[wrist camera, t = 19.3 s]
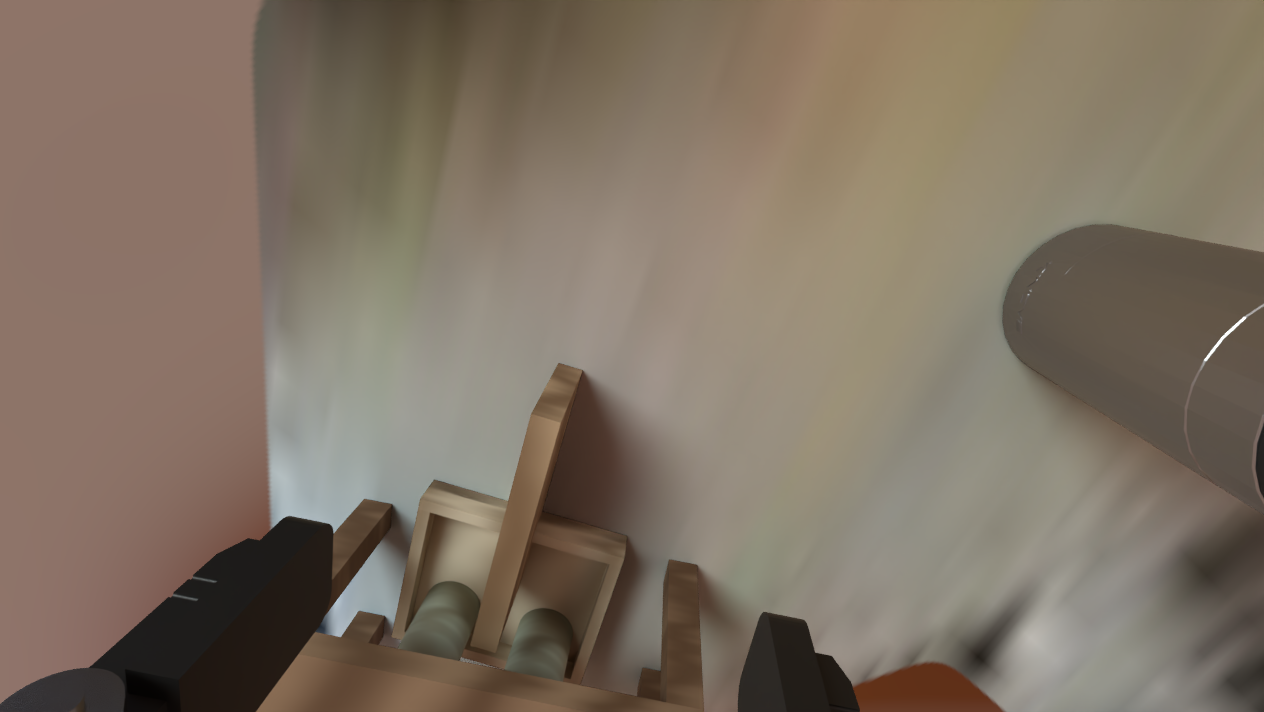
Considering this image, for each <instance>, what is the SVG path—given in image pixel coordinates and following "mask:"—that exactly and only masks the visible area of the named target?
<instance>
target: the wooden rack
mask: <svg viewBox="0 0 1264 712" xmlns="http://www.w3.org/2000/svg"><path fill="white" fill-rule="evenodd" d="M391 512H392V504H388V503H383V502H378V501H373V500H368V499H364V500H363V501H362V502H361V503H360V504H359V506H358V507H357V508H356V509H355V510H354V511H353V512H352V513H351V515H350V516H349V517H348V518H347V519H346V520H345V521H344V523H343V524H342V525H341V526H340V527H339V528H338V529H337V531H336V532H335V533H334V534H333V565H332V592H331V598H330V603H329V606H328V609H327V611H326V614H327V612H328V611H329V610H330V608H331V607H332V606H333V604H334V603H335V602H336V600H337V599H338V598H339V596H340V595H341V594H342V592H343V591H344V590H345V588H346V587H347V586H348V584H349V583H350V582H351V580H352V579H353V578H354V576H355V575H356V574H357V572H358V571H359V570H360V568H361V567H362V565H363V564H364V563H365V561H366V560H367V559H368V557H369V556H370V555H371V553H372V552H373V551H374V549H375V548H376V547H377V545H378V544H379V543H380V541H381V540H382V539H383V537H384V536H385V535H386V533H387V532H388V531H389V529H390V527H391ZM326 614H325V615H326ZM384 618H385V616H382V615H376V614H371V613H366V612H361V611H359V612H358V613H357V614H356V616H355V617H354V619H353V620H352V622H351V623H350V625H349V626H348V628H347V629H346V631H345V632H344V634H343V635H342V636H341V637H336V636H331V635H326V634H321V633H316V632H315V633H314V634H313V635H312V637H311V638H310V639H309V641H308V642H307V643H306V645H305V646H304V648H303V649H302V650H301V652H300V653H299V654H298V656H297V657H296V658H295V660H294V661H293V662H292V664H291V665H290V666H289V668H288V669H287V670H286V672H285V673H284V675H283V676H282V677H281V679H280V680H279V681H278V683H277V684H276V685H275V687H274V688H273V689H272V691H271V692H270V693H269V695H268V696H267V697H266V699H265V700H264V701H263V703H262V704H261V706H260V707H259V708H258V710H257V711H256V712H704V702H703V681H702V660H701V639H700V619H699V598H698V577H697V565H695V564H690V563H685V562H680V561H674V560H669V562H668V566H667V570H666V574H665V578H664V584H663V617H662V650H661V671H657V670H652V669H647V668H642V672H641V677H640V681H639V685H638V692H637V696H632V695H627V694H622V693H617V692H612V691H607V690H602V689H597V688H592V687H587V686H581V685H576V684H571V683H566V682H561V681H556V680H551V679H546V678H541V677H536V676H531V675H526V674H521V673H516V672H511V671H506V670H501V669H496V668H491V667H486V666H481V665H476V664H471V663H466V662H461V661H456V660H451V659H446V658H441V657H436V656H431V655H426V654H421V653H416V652H411V651H406V650H401V649H396V648H391V647H386V646H381V645H379V643H380V641H381V640H382V638H383V633H384Z"/></svg>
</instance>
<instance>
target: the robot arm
mask: <svg viewBox="0 0 1264 712" xmlns="http://www.w3.org/2000/svg"><path fill="white" fill-rule="evenodd" d="M1003 326H1004V332H1005V336H1006V338H1007V340H1008V343H1009V345H1010V347H1011V349H1012V350H1013V351H1014V353H1015V354H1016V355H1017V356H1018V358H1019V359H1020V360H1021V361H1022V362H1024V363H1025V364H1027V365H1028V366H1029V367H1031V368H1032V369H1034V370H1035V371H1037V372H1038V373H1040V374H1041V375H1043V376H1045V377H1046V378H1048V379H1049V380H1051V381H1053V382H1054V383H1056V384H1057V385H1059V386H1060V387H1062V388H1063V389H1065V390H1066V391H1068V392H1069V393H1071V394H1072V395H1074V396H1076V397H1077V398H1079V399H1080V400H1082V401H1084V402H1085V403H1087V404H1088V405H1090V406H1091V407H1093V408H1095V409H1096V410H1098V411H1099V412H1101V413H1103V414H1104V415H1106V416H1107V417H1109V418H1110V419H1112V420H1114V421H1115V422H1117V423H1118V424H1120V425H1122V426H1123V427H1125V428H1126V429H1128V430H1129V431H1131V432H1133V433H1134V434H1136V435H1137V436H1139V437H1141V438H1142V439H1144V440H1145V441H1147V442H1148V443H1150V444H1152V445H1153V446H1155V447H1156V448H1158V449H1160V450H1161V451H1163V452H1164V453H1166V454H1168V455H1169V456H1171V457H1172V458H1174V459H1175V460H1177V461H1179V462H1180V463H1182V464H1183V465H1185V466H1187V467H1188V468H1190V469H1191V470H1193V471H1194V472H1196V473H1198V474H1199V475H1201V476H1202V477H1204V478H1206V479H1207V480H1209V481H1210V482H1212V483H1213V484H1215V485H1217V486H1219V487H1220V488H1222V489H1224V490H1225V491H1227V492H1228V493H1230V494H1232V495H1233V496H1235V497H1236V498H1238V499H1240V500H1241V501H1243V502H1244V503H1246V504H1247V505H1249V506H1251V507H1252V508H1254V509H1255V510H1257V511H1259V512H1260V513H1262V514H1263V515H1264V252H1259V251H1253V250H1248V249H1243V248H1237V247H1232V246H1226V245H1221V244H1215V243H1210V242H1205V241H1199V240H1194V239H1188V238H1183V237H1178V236H1174V235H1168V234H1163V233H1157V232H1151V231H1146V230H1140V229H1135V228H1129V227H1123V226H1118V225H1112V224H1107V225H1090V226H1085V227H1080V228H1075V229H1073V230H1070V231H1068V232H1065V233H1063V234H1061V235H1058V236H1056V237H1055V238H1053V239H1052V240H1050V241H1048V242H1047V243H1045V244H1044V245H1042V246H1041V247H1040V248H1038V249H1037V250H1036V251H1035V252H1034V253H1033V254H1032V255H1031V256H1030V257H1028V258H1027V260H1026V261H1025V262H1024V263H1023V265H1022V266H1021V267H1020V269H1019V270H1018V271H1017V272H1016V274H1015V276H1014V278H1013V280H1012V282H1011V284H1010V286H1009V288H1008V290H1007V294H1006V297H1005V301H1004V304H1003ZM332 565H333V528H332V526H331V525H330V524H327V523H322V522H317V521H312V520H307V519H302V518H297V517H292V516H288V517H285V518H283V519H282V520H281V521H280V522H279V523H278V524H277V525H276V526H275V527H273V528H272V529H271V530H270V531H269V532H268V533H267V534H266V535H265V536H264V537H263V538H262V539H261V540H260V541H259V540H254V539H249V538H248V539H246V540H244V541H242V542H240V543H238V544H236V545H234V546H232V547H230V548H228V549H226V550H224V551H222V552H220V553H218V554H216V555H215V556H214V557H213V558H212V559H211V560H210V561H209V562H207V563H206V564H205V565H204V566H203V567H202V568H201V569H199V571H197V572H196V573H195V574H194V575H193V578H192V579H191V580H190V579H189V580H187V581H186V582H185V583H184V584H183V585H181V586H180V587H179V588H178V589H177V590H176V591H175V592H174V594H173V596H172V597H171V598H170V597H168V598H167V599H166V600H165V601H164V602H162V603H161V604H160V605H159V606H158V607H157V608H156V609H155V610H153V611H152V613H150V614H149V615H148V616H147V617H146V618H145V619H143V620H142V621H141V622H140V623H139V624H138V625H137V626H135V627H134V628H133V629H132V630H131V631H130V632H129V633H128V634H126V635H125V636H124V637H123V638H122V639H121V640H120V641H119V642H118V643H116V645H114V646H113V647H112V648H111V649H110V650H109V651H107V652H106V653H105V654H104V655H103V656H102V657H101V658H100V659H98V660H97V661H96V662H95V663H94V664H93V665H92V666H90V667H89V668H80V669H73V670H68V671H63V672H60V673H56V674H53V675H50V676H47V677H45V678H42V679H40V680H38V681H35V682H33V683H31V684H29V685H27V686H25V687H24V688H22V689H20V690H19V691H17V692H16V693H14V694H13V695H11V696H10V697H8V698H7V699H6V700H4V701H3V702H2V703H1V704H0V712H256V711H257V710H258V708H259V707H260V706H261V704H262V703H263V701H264V700H265V699H266V697H267V696H268V695H269V693H270V692H271V691H272V689H273V688H274V687H275V685H276V684H277V683H278V681H279V680H280V679H281V677H282V676H283V675H284V673H285V672H286V670H287V669H288V668H289V666H290V665H291V664H292V662H293V661H294V660H295V658H296V657H297V656H298V654H299V653H300V652H301V650H302V649H303V648H304V646H305V645H306V643H307V642H308V641H309V639H310V638H311V637H312V635H313V634H314V633H315V631H316V630H317V629H318V627H319V626H320V624H321V622H322V620H323V618H324V616H325V614H326V611H327V609H328V606H329V603H330V598H331V592H332ZM738 712H860V709H859V706H858V703H857V700H856V696H855V693H854V690H853V687H852V684H851V682H850V680H849V679H848V678H847V676H846V675H845V673H844V672H843V671H842V669H841V668H840V667H839V665H838V664H837V663H836V661H835V660H834V658H833V657H832V656H829V655H824V654H819V653H815V651H814V647H813V643H812V640H811V636H810V632H809V629H808V626H807V623H806V622H805V620H802V619H797V618H792V617H787V616H782V615H777V614H772V613H767V612H763V613H762V614H761V616H760V618H759V621H758V624H757V627H756V630H755V633H754V637H753V640H752V643H751V646H750V649H749V653H748V656H747V659H746V662H745V665H744V669H743V672H742V675H741V679H740V685H739V693H738Z"/></svg>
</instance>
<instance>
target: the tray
mask: <svg viewBox="0 0 1264 712" xmlns="http://www.w3.org/2000/svg"><path fill="white" fill-rule="evenodd" d="M582 371H583V370H580V369H577V368H573V367H570V366H567V365H564V364H560V363H558V365H557V367H556V369H555V371H554V373H553V375H552V376H551V378H550V380H549V382H548V384H547V386H546V388H545V389H544V391H543V393H542V395H541V397H540V399H539V400H538V402H537V404H536V406H535V408H534V410H533V412H532V413H531V417H530V421H529V424H528V428H527V432H526V436H525V440H524V443H523V447H522V451H521V455H520V458H519V462H518V466H517V470H516V474H515V477H514V481H513V485H512V489H511V493H510V496H509V500H508V501H505V500H502V499H498V498H495V497H492V496H488V495H485V494H481V493H478V492H475V491H471V490H468V489H464V488H461V487H457V486H454V485H451V484H447V483H444V482H440V481H437V480H434V481H433V482H432V483H431V485H430V486H429V488H428V489H427V490H426V492H425V493H424V494H423V496H422V497H421V499H420V502H419V507H418V512H417V517H416V522H415V526H414V531H413V536H412V541H411V546H410V550H409V555H408V560H407V565H406V570H405V574H404V579H403V584H402V589H401V594H400V598H399V603H398V608H397V613H396V618H395V622H394V627H393V632H392V637H393V638H396V639H400V640H402V641H401V642H400V644H399V647H398V649H401V650H406V651H411V652H416V653H421V654H426V655H431V656H436V657H441V658H446V659H451V660H456V661H459V660H460V658H461V657H463V658H466V659H470V660H473V661H477V662H480V663H484V664H487V665H491V666H494V667H498V668H501V669H504V670H506V671H511V672H516V673H521V674H526V675H531V676H536V677H541V678H546V679H551V680H556V681H561V682H566V683H571V684H576V685H580V684H581V681H582V678H583V675H584V673H585V670H586V667H587V664H588V661H589V658H590V655H591V653H592V650H593V647H594V644H595V641H596V638H597V635H598V633H599V630H600V627H601V624H602V621H603V618H604V615H605V612H606V610H607V607H608V604H609V601H610V598H611V595H612V592H613V590H614V587H615V584H616V581H617V578H618V575H619V572H620V570H621V567H622V564H623V561H624V557H625V550H626V542H627V536H625V535H621V534H618V533H614V532H611V531H608V530H604V529H601V528H597V527H594V526H591V525H587V524H584V523H580V522H577V521H573V520H570V519H567V518H563V517H560V516H556V515H553V514H550V513H546V512H543V511H542V510H543V507H544V503H545V500H546V496H547V493H548V489H549V486H550V482H551V479H552V475H553V472H554V468H555V465H556V461H557V458H558V454H559V451H560V447H561V444H562V440H563V437H564V434H565V430H566V427H567V423H568V420H569V416H570V413H571V409H572V406H573V402H574V399H575V395H576V392H577V388H578V385H579V381H580V378H581V374H582Z"/></svg>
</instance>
